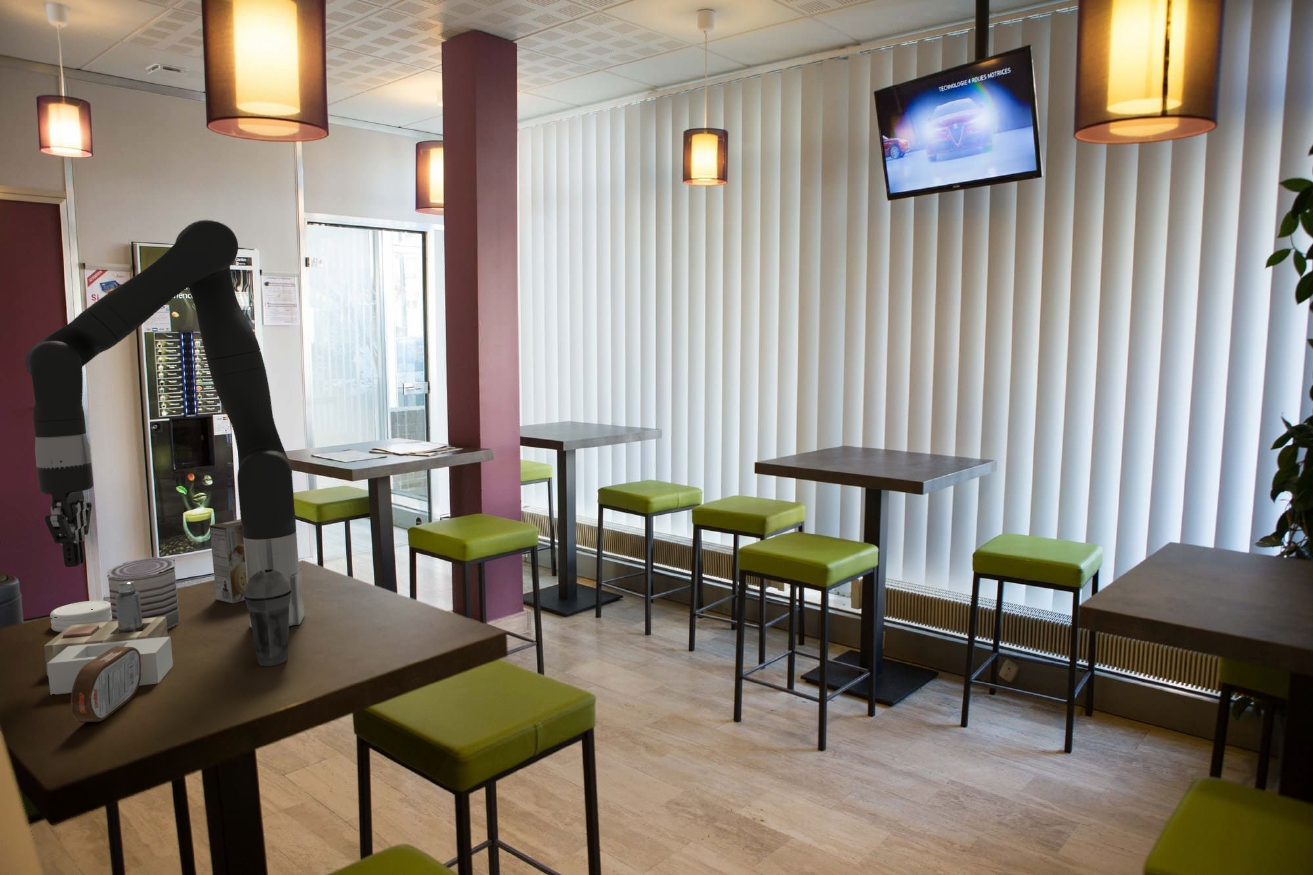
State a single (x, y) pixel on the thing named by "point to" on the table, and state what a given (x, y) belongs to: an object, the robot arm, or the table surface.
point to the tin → (106, 684)
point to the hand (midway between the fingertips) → (75, 564)
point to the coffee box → (228, 561)
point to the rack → (75, 657)
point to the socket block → (105, 635)
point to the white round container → (80, 614)
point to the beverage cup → (269, 614)
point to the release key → (81, 631)
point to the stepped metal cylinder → (128, 608)
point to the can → (148, 587)
